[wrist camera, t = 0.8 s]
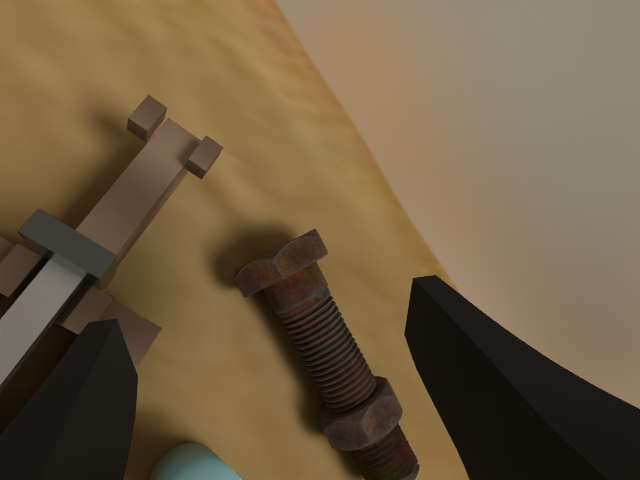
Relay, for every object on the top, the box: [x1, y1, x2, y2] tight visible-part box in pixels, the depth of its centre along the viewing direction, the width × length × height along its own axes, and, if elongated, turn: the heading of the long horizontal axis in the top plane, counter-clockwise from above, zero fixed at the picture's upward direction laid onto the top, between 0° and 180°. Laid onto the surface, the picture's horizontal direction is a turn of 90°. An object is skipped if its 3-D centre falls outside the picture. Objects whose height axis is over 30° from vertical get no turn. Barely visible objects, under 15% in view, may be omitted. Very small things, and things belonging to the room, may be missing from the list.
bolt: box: [235, 229, 419, 480], centre depth 26 cm, size 6×5×15 cm
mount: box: [0, 95, 223, 368], centre depth 20 cm, size 18×9×5 cm, turn 151°
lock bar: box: [0, 208, 117, 393], centre depth 16 cm, size 8×3×4 cm, turn 151°
